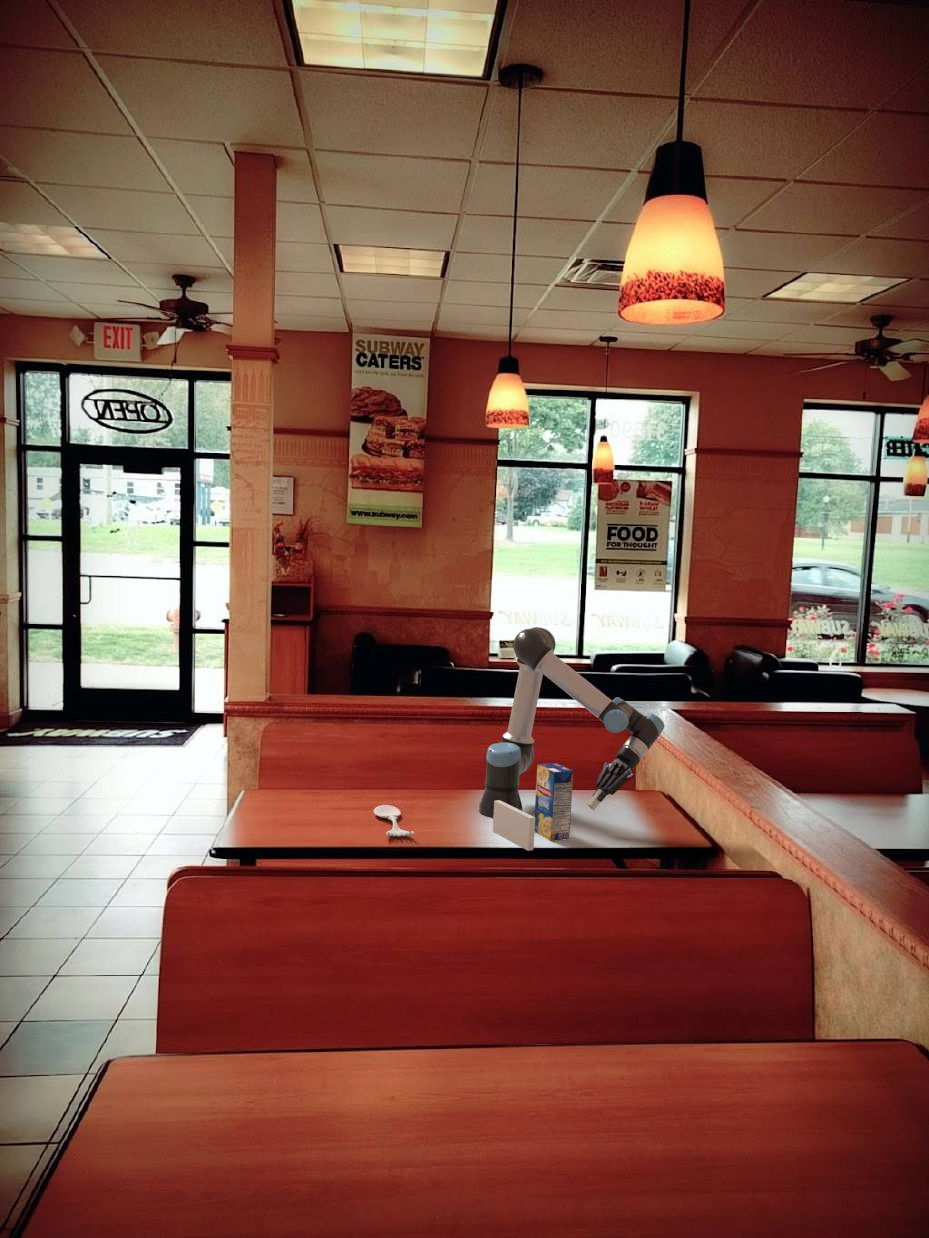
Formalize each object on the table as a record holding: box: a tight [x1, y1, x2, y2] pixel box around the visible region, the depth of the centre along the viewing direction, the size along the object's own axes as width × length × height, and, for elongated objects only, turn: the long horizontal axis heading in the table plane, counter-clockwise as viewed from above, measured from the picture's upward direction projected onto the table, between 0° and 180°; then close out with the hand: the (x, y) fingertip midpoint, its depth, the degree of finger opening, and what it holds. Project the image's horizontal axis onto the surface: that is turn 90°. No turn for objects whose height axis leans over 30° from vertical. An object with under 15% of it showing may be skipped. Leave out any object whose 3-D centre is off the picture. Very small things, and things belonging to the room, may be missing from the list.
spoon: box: [373, 804, 415, 837], centre depth 269 cm, size 9×32×4 cm, turn 14°
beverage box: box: [534, 762, 574, 842], centre depth 268 cm, size 7×11×22 cm, turn 25°
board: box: [492, 800, 536, 852], centre depth 261 cm, size 20×2×10 cm, turn 30°
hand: (590, 806), depth 275 cm, fingers closed
